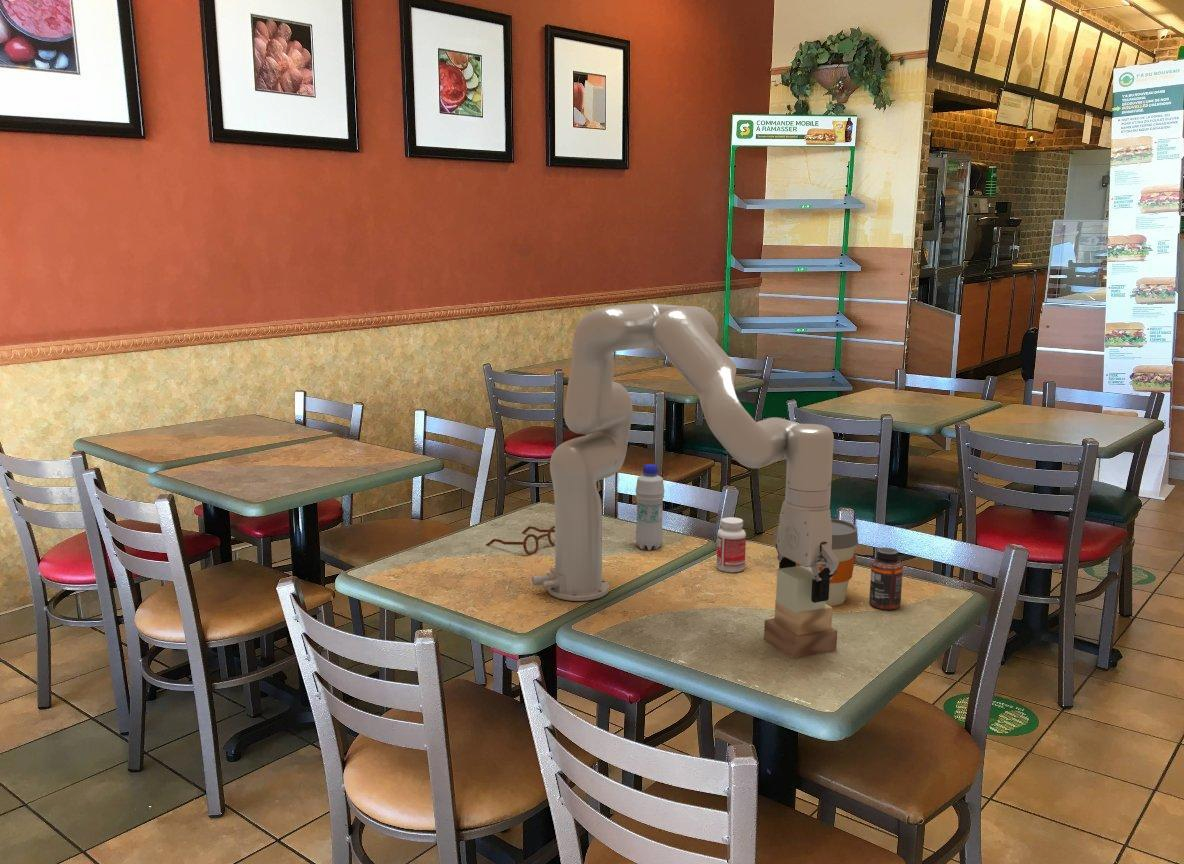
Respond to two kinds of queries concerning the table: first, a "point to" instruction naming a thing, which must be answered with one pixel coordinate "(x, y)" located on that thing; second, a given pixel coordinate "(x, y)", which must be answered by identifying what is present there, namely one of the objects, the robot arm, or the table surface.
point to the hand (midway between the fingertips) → (802, 591)
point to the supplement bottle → (886, 579)
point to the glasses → (527, 538)
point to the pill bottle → (731, 545)
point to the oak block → (804, 619)
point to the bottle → (649, 508)
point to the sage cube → (796, 589)
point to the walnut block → (799, 640)
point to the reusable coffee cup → (841, 559)
